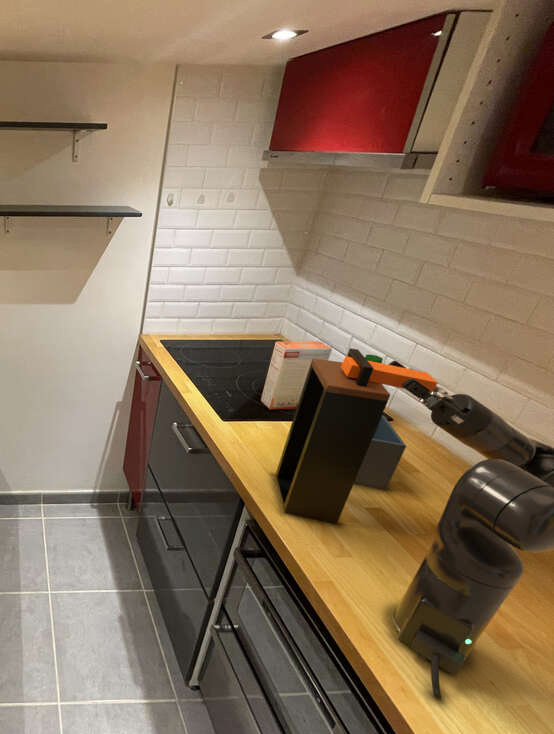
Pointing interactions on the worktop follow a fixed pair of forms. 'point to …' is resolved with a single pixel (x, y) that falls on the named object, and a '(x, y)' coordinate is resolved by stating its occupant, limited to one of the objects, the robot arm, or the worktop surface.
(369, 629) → the worktop surface
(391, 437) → the blue open bin
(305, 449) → the box
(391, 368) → the bar
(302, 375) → the cracker box
